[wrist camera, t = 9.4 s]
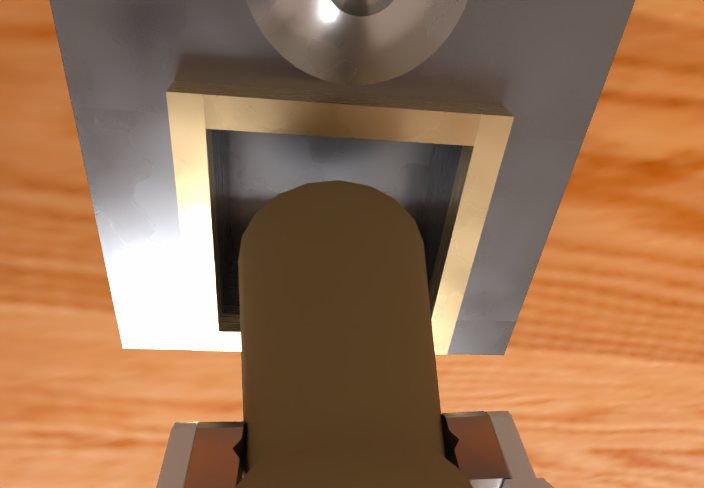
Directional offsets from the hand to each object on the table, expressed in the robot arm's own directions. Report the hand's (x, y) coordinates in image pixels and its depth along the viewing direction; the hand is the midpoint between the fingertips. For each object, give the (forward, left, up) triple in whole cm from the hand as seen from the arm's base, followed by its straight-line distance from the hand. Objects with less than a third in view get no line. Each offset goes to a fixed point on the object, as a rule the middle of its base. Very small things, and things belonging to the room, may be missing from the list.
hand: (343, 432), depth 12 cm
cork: (0, 0, -7) cm, 7 cm away
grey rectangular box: (+3, 0, -13) cm, 13 cm away
